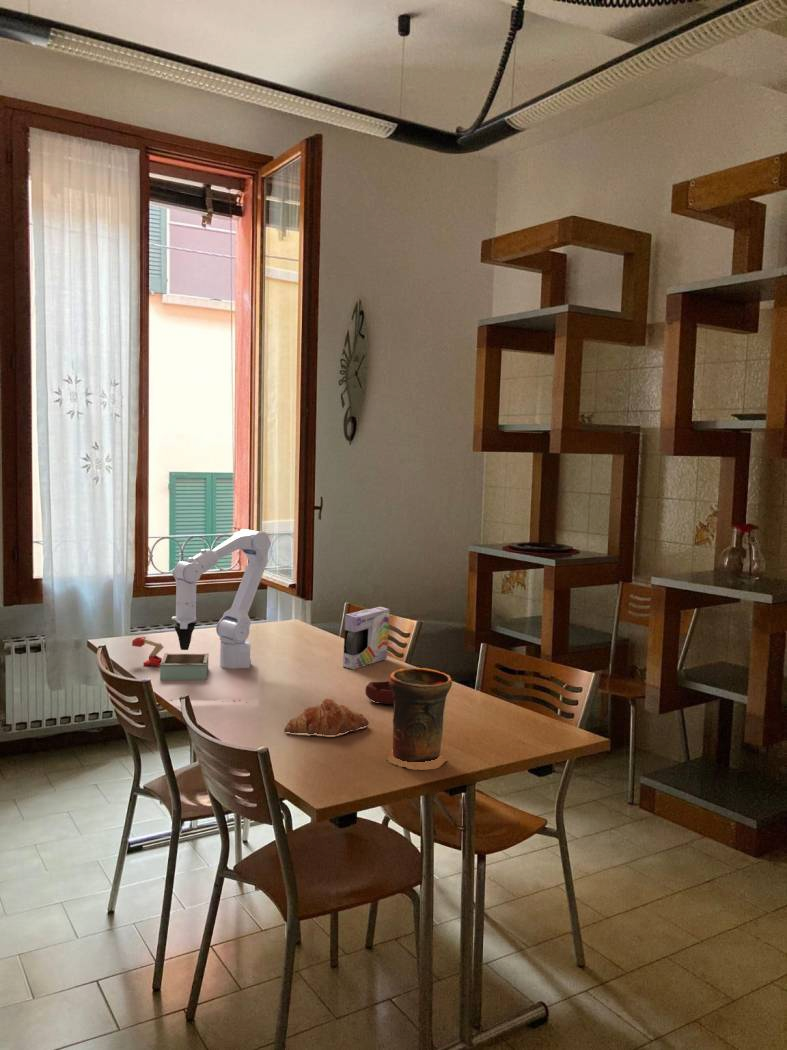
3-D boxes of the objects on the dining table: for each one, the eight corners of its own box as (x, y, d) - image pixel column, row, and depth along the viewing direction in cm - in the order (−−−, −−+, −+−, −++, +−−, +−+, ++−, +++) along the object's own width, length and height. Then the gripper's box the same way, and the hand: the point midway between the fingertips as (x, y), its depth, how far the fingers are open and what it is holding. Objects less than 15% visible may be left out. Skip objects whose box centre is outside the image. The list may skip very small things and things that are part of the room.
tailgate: (206, 678, 253) (206, 663, 252) (206, 679, 252) (206, 664, 251) (160, 678, 250) (160, 663, 250) (160, 679, 249) (160, 664, 249)
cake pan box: (351, 670, 273) (353, 616, 271) (339, 667, 276) (341, 613, 274) (388, 660, 288) (390, 608, 286) (376, 657, 291) (378, 605, 289)
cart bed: (208, 672, 263) (208, 653, 263) (206, 682, 253) (206, 662, 252) (164, 672, 261) (164, 653, 261) (160, 682, 251) (160, 662, 250)
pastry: (333, 747, 205) (335, 714, 205) (281, 734, 213) (282, 702, 212) (369, 728, 220) (371, 697, 219) (319, 716, 227) (320, 687, 227)
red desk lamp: (174, 672, 263) (175, 641, 262) (131, 669, 264) (131, 638, 263) (178, 669, 266) (179, 639, 265) (135, 666, 267) (136, 636, 266)
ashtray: (406, 715, 232) (407, 697, 231) (359, 702, 242) (360, 684, 241) (443, 701, 246) (444, 683, 245) (397, 689, 256) (398, 672, 255)
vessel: (427, 744, 209) (431, 664, 207) (458, 766, 197) (464, 681, 194) (374, 752, 202) (378, 669, 200) (403, 776, 190) (408, 688, 187)
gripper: (174, 597, 260) (173, 641, 262) (169, 607, 246) (168, 653, 247) (198, 598, 261) (197, 642, 263) (195, 607, 247) (194, 653, 248)
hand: (185, 647), depth 255 cm, fingers open, 4 cm apart
